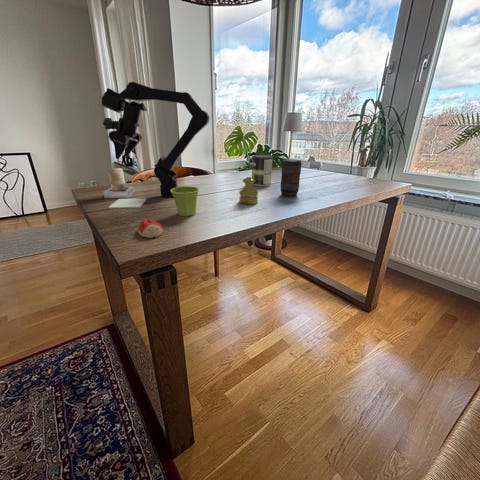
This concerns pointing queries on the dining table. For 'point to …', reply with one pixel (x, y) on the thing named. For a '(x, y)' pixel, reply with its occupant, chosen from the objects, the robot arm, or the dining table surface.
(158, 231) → the red and white dome
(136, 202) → the sage board
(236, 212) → the dining table surface
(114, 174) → the maple peg
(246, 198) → the olive yellow tied sack
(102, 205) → the dining table surface
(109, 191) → the grey square frame
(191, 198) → the plant pot
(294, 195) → the dark brown cylinder
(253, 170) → the coffee can
